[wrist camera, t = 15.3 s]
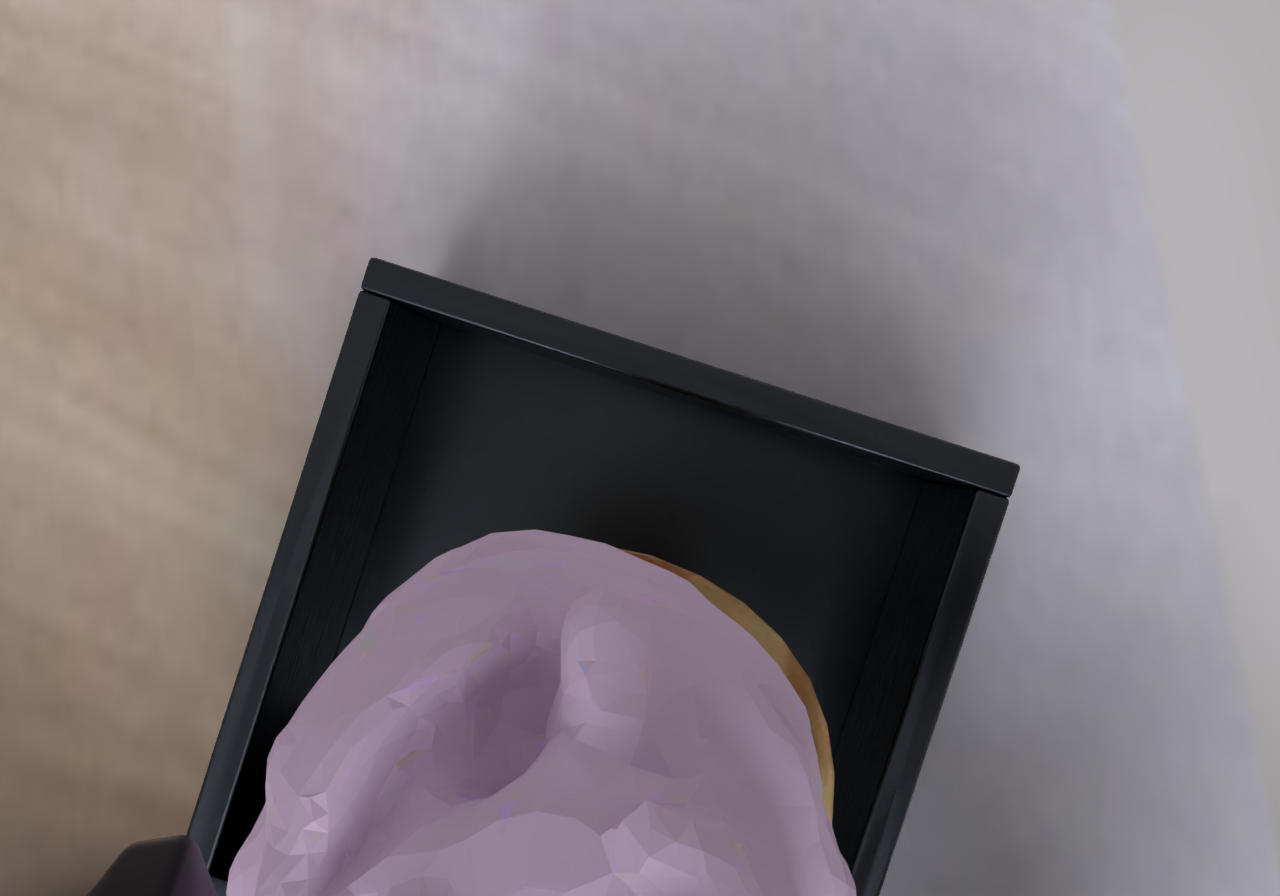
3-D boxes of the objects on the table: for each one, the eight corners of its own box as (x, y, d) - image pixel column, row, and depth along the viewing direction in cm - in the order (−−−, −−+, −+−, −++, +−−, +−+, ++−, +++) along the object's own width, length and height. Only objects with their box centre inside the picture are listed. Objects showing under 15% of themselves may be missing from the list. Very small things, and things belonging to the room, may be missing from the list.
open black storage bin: (782, 985, 23) (807, 1116, 19) (262, 809, 24) (164, 897, 19) (955, 460, 23) (1022, 465, 19) (428, 291, 23) (369, 255, 19)
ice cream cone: (703, 849, 23) (759, 1651, 8) (419, 758, 23) (-63, 1373, 8) (799, 543, 23) (1044, 762, 8) (512, 453, 23) (203, 497, 8)
